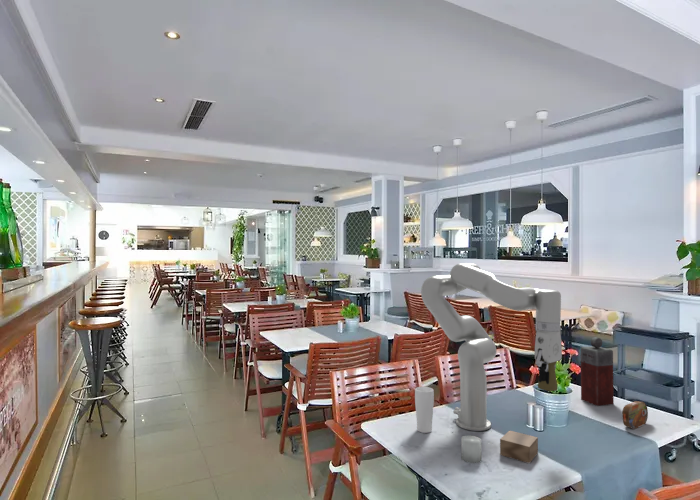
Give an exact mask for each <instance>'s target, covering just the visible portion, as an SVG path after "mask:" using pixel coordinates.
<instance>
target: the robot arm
mask: <svg viewBox="0 0 700 500" xmlns="http://www.w3.org/2000/svg"><path fill="white" fill-rule="evenodd" d="M466 289H469V290H471V291H472V292H476V293H478V294H480V295H484V296H485V297H486V298H487V299H488V300H490V301H491V302H493V303H494V304H498V305H500V306H503V307H505V308H507V309H510V310H513V311H519V312H520V311H527V310H533V309H534V310H535V331H536V333H535V341H534V359H535V365H536V366H537V367H538V369H537V370H538V381H539V382H541V381H546V383H547V384H549V372H548V365H549V364H548V363H553V362H555V361H557V362H559V361H560V360H562V357H563V355H562V354H563V353H562V352H563V350H562V336H561V334H562V333H561V313H562V311H561V310H562V294H561V292H560V291H558V290H555V289H540V288H535V287H516V286H512V285H508V284H506V283H504V282H502V281H499V280H498V279H497V278H496V275H495V274H494V273H491V272H489V271H485V270H483V269H481V267H480V266H479V265H478V264H475V263H473V262H472V263H471V262H465V263H461V262H460V263H457V264H454V265H453V266H452V267H451V269H450V272H449V273H448V274H439V275H432V276H430V277H427V278H425V280H424V281H423V282H422V286H421V290H420V295H421V299H422V302H423V303H424V306H425V307H426V308H427V310H428V311H429V312H430V313H431V315H432V316H433V317H434V319H435V321H436V322H437V323H438V325H439V326H440V328H441V329H442V331H443V333H444V335H446V336H447V338H448V339H449V340H450V341H452V342H455V343H457V342H463V341H465V342H463V343H461V344H460V346H459V348H458V351H457V359H458V365H459V379H460V380H459V383H460V384H459V386H460V389H459V390H460V392H459V393H460V396H459V397H460V398H459V399H460V406H459V407H458V406H455V408H454V410H453V414H454V415H457V418H456V420H455V421H456V422H455V423H456V425H457V426H458V427H459V428H461V429H465V430H468V431H475V432H484V431H488V430H490V429H491V427H492V423H491V421H490V420H488V419H487V418H488V417H487V416H488V414H487V411H488V410H487V409H488V408H487V407H488V406H487V405H488V404H487V401H488V400H487V385H488V384H487V374H486V373H487V372H486V370H485V365H484V364H486V363H489V362H491V361H493V360H494V359H495V358H496V355H497V346H496V344H495V342H494V340H493V339H492V338H491V337H490V335H489V334H488V333H487V331H486V330H485V329H484V327H483V326H482V325H481V323H480V322H479V321H478V320H477V319H476V318H474V317H473V316H471V315H466V314H465V315H460V313H458V312H457V310H456V309H455V308H454V306H453V305H452V303H450V302H449V301H448V300H447V299H445V298H444V297H446V296H447V297H448V296H453V295H456V294H458V293H460V292H462V291H465V290H466ZM542 359H543V360H544V361H545V362H544V361H542ZM557 362H556V365H555V370H556V369H557V368H556V367H557ZM542 363H544V364H545V365H544V364H542Z"/></svg>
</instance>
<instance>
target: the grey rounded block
mask: <svg viewBox="0 0 700 500" xmlns="http://www.w3.org/2000/svg"><path fill="white" fill-rule="evenodd" d="M460 440H461V441H460V442H461V450H460V451H461V460H463V461H464V462H466V463H469V464H478V463H479V464H480V462H482V439H481V438H480V437H478V436H475V435H463V436H461V439H460Z"/></svg>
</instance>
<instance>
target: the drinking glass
mask: <svg viewBox="0 0 700 500" xmlns="http://www.w3.org/2000/svg"><path fill="white" fill-rule="evenodd" d="M434 395H435V393H434V389H433V388H432V387H428V386H418V387H415V389H414V403H415V404H414V405H415V406H414V407H415V418H416V429H417V432H419V433H423V434H429V433H431V432H432V431H433V416H434V403H435V401H434V400H435V399H434V398H435V396H434Z"/></svg>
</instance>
